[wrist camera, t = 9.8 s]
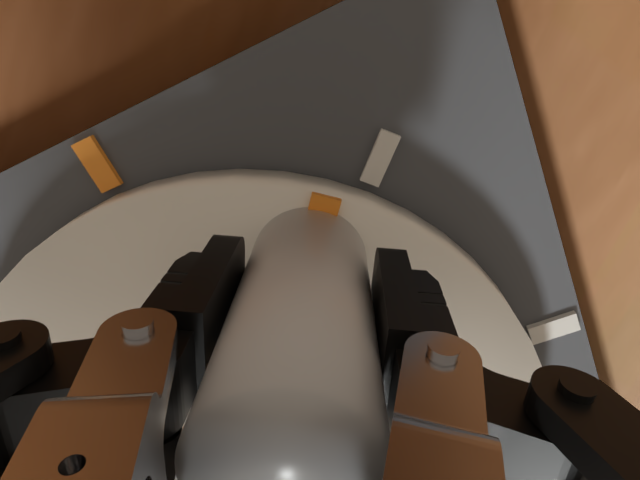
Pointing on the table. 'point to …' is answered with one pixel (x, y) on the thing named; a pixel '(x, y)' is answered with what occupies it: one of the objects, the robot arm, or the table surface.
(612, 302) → the table surface
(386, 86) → the dial plate
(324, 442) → the dial
